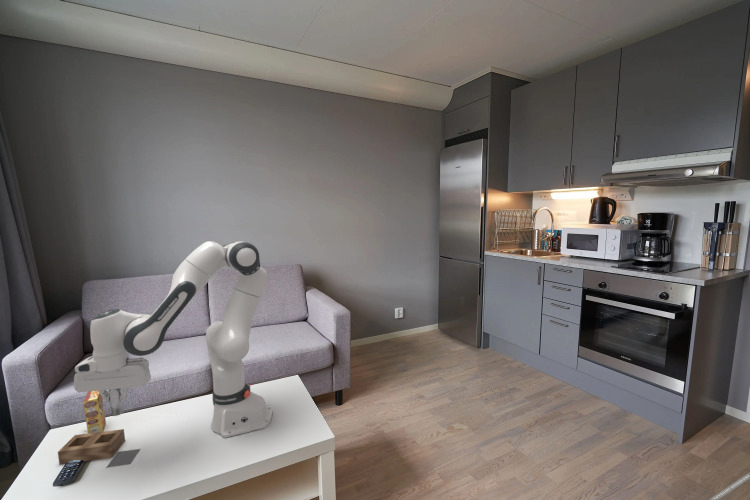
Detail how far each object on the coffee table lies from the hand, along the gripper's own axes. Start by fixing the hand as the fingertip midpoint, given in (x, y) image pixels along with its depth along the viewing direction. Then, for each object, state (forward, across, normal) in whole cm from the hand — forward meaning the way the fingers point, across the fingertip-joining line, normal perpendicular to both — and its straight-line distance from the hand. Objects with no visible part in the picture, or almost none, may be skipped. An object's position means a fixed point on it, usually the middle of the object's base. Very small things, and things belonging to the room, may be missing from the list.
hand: (116, 400), depth 106 cm
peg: (+5, 0, 0) cm, 5 cm away
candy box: (+21, +16, -17) cm, 32 cm away
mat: (+21, -1, 0) cm, 21 cm away
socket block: (+21, +11, -5) cm, 24 cm away
